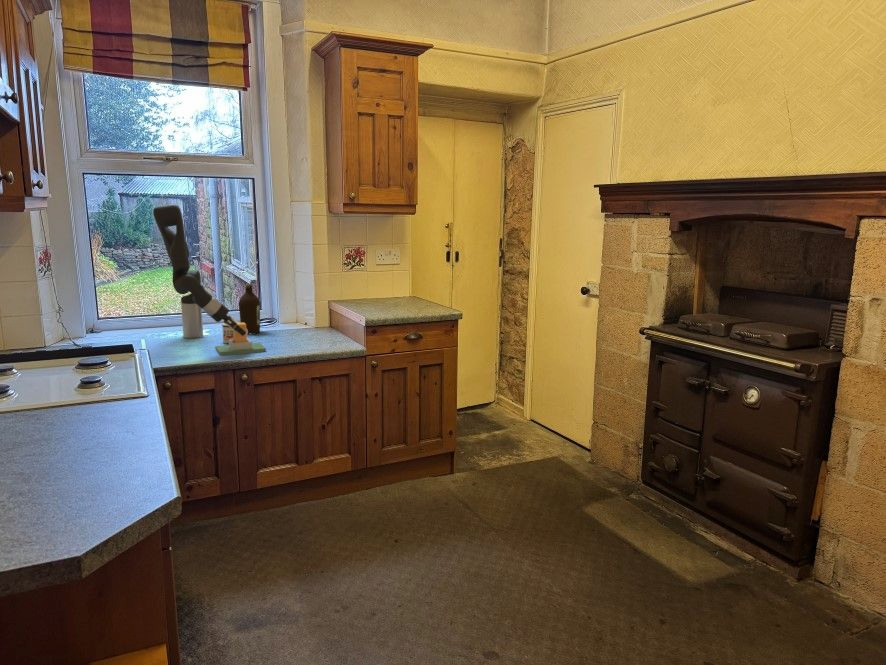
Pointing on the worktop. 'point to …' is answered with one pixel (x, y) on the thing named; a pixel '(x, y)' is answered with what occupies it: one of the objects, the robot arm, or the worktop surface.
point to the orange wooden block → (237, 335)
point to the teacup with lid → (228, 333)
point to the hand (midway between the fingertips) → (242, 332)
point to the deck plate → (240, 348)
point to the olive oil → (250, 310)
